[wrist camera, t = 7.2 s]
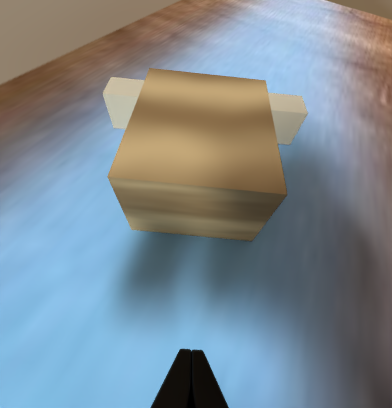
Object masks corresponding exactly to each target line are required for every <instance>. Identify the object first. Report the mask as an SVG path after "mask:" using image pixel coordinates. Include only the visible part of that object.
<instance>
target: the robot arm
mask: <svg viewBox="0 0 392 408" xmlns="http://www.w3.org/2000/svg"><path fill="white" fill-rule="evenodd" d="M151 408H229V407H228V405H227V403H226V401H225V398H224V396H223V394H222V392H221V389H220V387H219V385H218V383H217V381H216V378H215V376H214V374H213V372H212V369H211V367H210V365H209V363H208V360H207V358H206V356H205V354H204V352H203V351H202V350H192V352H191V350H190V349H180V350H179V352H178V354H177V356H176V358H175V360H174V362H173V364H172V366H171V368H170V370H169V372H168V374H167V376H166V378H165V380H164V382H163V384H162V386H161V388H160V390H159V392H158V394H157V396H156V398H155V400H154V402H153V404H152V406H151Z"/></svg>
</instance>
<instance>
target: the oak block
mask: <svg viewBox="0 0 392 408" xmlns="http://www.w3.org/2000/svg"><path fill="white" fill-rule="evenodd" d="M108 179H109V181H110V183H111V186H112V188H113V190H114V192H115V194H116V197H117V199H118V201H119V203H120V205H121V208H122V210H123V212H124V214H125V216H126V219H127V221H128V223H129V225H130V227H131V230H140V231H150V232H161V233H171V234H182V235H192V236H203V237H213V238H224V239H234V240H245V241H253V239H254V238H255V237H256V235H257V234H258V233H259V231H260V230H261V229H262V227H263V226H264V225H265V224H266V222H267V221H268V220H269V218H270V217H271V216H272V214H273V213H274V212H275V210H276V209H277V208H278V206H279V205H280V204H281V202H282V201H283V200H284V199H285V197H286V196H287V190H286V184H285V179H284V174H283V169H282V164H281V158H280V153H279V148H278V143H277V138H276V132H275V127H274V122H273V117H272V112H271V106H270V101H269V96H268V91H267V86H266V80H256V79H247V78H237V77H228V76H219V75H209V74H200V73H191V72H181V71H172V70H163V69H153V68H149V71H148V73H147V76H146V79H145V81H144V84H143V86H142V89H141V91H140V94H139V97H138V99H137V102H136V104H135V107H134V110H133V112H132V115H131V117H130V120H129V122H128V125H127V128H126V130H125V133H124V135H123V138H122V141H121V143H120V146H119V148H118V151H117V153H116V156H115V159H114V161H113V164H112V166H111V169H110V172H109V174H108Z"/></svg>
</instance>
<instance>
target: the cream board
mask: <svg viewBox="0 0 392 408" xmlns="http://www.w3.org/2000/svg"><path fill="white" fill-rule="evenodd" d="M144 81H145V80H135V79H125V78H115V77H111V79H110V80H109V82H108V84H107V86H106V88H105V90H104V92H103V96H104V99H105V103H106V106H107V109H108V112H109V115H110V118H111V121H112V124H113V127H114V128H117V129H126V128H127V125H128V122H129V120H130V117H131V115H132V112H133V110H134V107H135V104H136V102H137V99H138V97H139V94H140V91H141V89H142V86H143V84H144ZM268 96H269V101H270V106H271V112H272V117H273V122H274V127H275V132H276V138H277V143H278V144H284V145H290V144H291V142H292V140H293V139H294V137H295V135H296V134H297V132H298V130H299V128H300V127H301V125H302V123H303V121H304V120H305V118H306V116H307V114H308V113H307V110H306V107H305V104H304V101H303V98H302V96H295V95H285V94H275V93H268Z"/></svg>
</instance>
